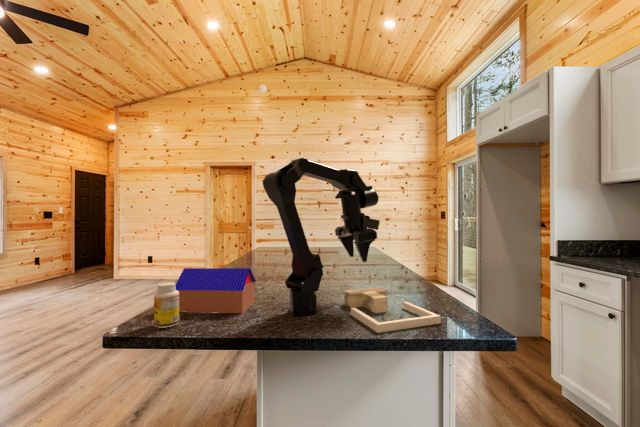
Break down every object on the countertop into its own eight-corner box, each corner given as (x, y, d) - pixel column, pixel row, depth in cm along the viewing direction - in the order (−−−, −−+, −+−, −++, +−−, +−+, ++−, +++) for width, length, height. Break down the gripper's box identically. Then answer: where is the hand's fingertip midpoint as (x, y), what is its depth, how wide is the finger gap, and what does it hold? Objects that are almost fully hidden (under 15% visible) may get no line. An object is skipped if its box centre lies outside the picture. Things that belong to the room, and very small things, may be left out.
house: (243, 315, 87) (242, 272, 87) (173, 314, 89) (172, 271, 89) (256, 303, 99) (255, 265, 99) (194, 302, 100) (193, 265, 101)
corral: (377, 332, 72) (377, 324, 72) (350, 314, 85) (350, 308, 85) (440, 323, 78) (440, 315, 78) (406, 307, 91) (406, 301, 91)
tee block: (344, 304, 95) (344, 290, 95) (379, 300, 99) (379, 287, 99) (361, 314, 85) (361, 299, 85) (400, 309, 89) (399, 295, 89)
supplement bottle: (155, 323, 80) (154, 282, 80) (179, 320, 82) (179, 280, 82) (153, 331, 75) (152, 287, 75) (179, 327, 77) (178, 284, 77)
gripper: (389, 207, 94) (395, 259, 96) (361, 206, 112) (366, 249, 113) (355, 213, 91) (362, 267, 92) (331, 211, 108) (337, 256, 110)
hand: (358, 259), depth 102 cm, fingers open, 9 cm apart
